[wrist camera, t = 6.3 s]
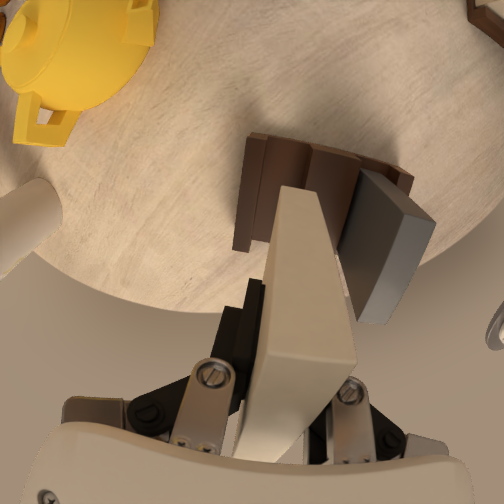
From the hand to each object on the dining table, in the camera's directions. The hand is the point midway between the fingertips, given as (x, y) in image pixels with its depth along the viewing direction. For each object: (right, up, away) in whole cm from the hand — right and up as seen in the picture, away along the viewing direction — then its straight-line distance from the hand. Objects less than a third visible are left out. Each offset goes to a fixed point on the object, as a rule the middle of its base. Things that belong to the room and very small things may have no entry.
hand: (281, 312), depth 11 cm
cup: (-29, +9, +17) cm, 35 cm away
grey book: (+9, +6, +12) cm, 16 cm away
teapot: (-17, +24, +6) cm, 30 cm away
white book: (+1, +2, +4) cm, 5 cm away
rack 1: (+5, +8, +13) cm, 16 cm away
